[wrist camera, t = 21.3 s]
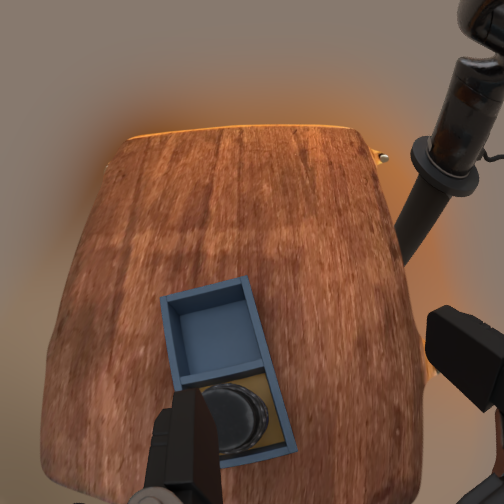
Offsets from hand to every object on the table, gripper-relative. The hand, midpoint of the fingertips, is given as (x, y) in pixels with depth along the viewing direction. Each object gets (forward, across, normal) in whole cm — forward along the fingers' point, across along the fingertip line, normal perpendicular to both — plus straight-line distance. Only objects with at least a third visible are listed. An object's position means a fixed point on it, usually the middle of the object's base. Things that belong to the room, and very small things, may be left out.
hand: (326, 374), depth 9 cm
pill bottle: (+15, +6, +16) cm, 23 cm away
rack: (+19, +6, +14) cm, 24 cm away
